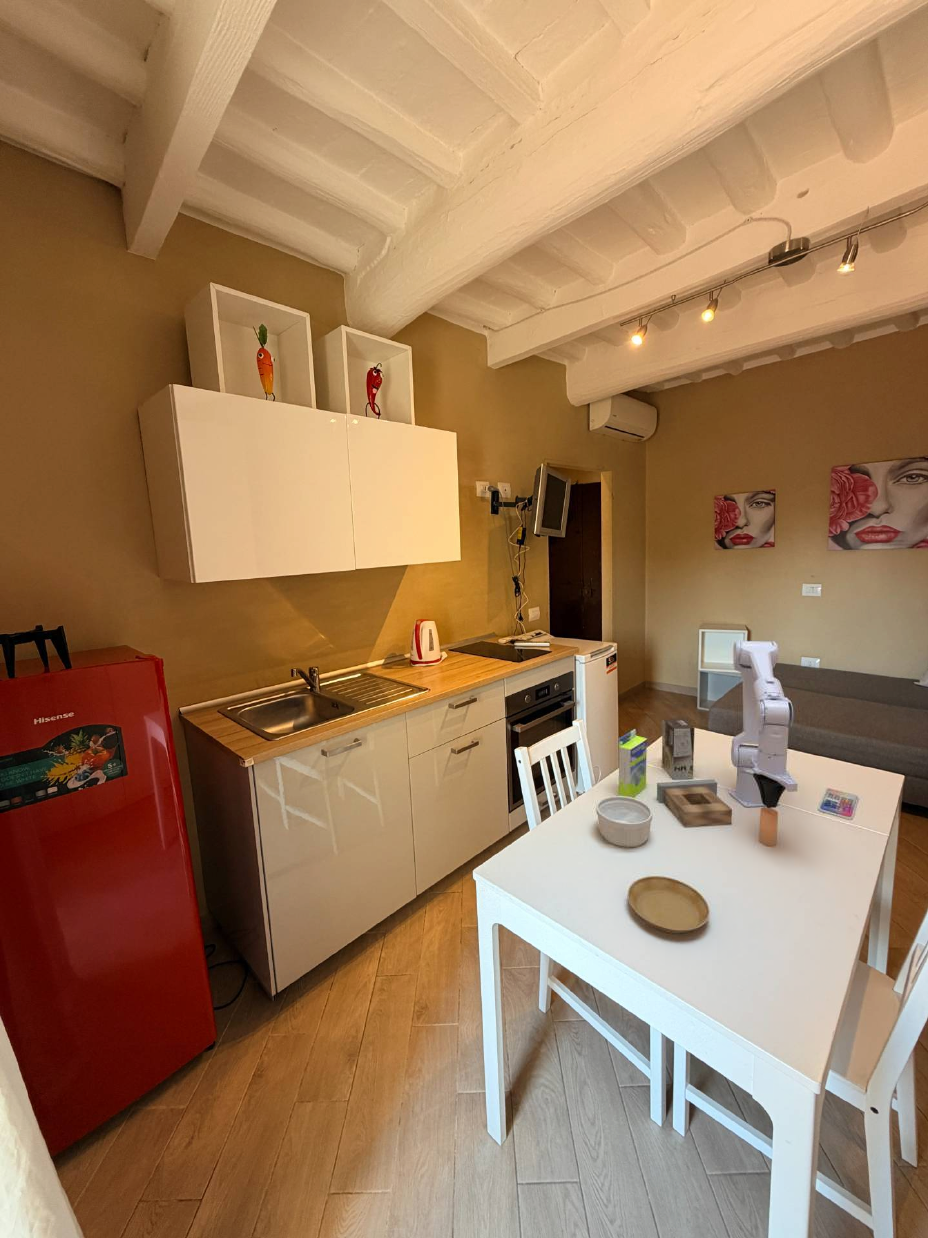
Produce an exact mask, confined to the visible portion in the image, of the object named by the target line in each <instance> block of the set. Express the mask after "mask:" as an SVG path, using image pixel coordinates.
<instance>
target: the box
mask: <svg viewBox="0 0 928 1238" xmlns="http://www.w3.org/2000/svg"><path fill="white" fill-rule="evenodd" d="M636 730H637V729H636V728H634V729H633V730H631V731H630V732H628V733H626V734H624V735H623V736H621V737H620V738H618V796H626V797H632V798H635V797H636V796H638V795H639V794H641V792H642V791H644V790H645V789H646V787H647V751H648V748H647V747H648V738H647V737H642V736H638V735H637V731H636Z"/></svg>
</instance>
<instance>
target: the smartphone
mask: <svg viewBox="0 0 928 1238" xmlns="http://www.w3.org/2000/svg"><path fill="white" fill-rule="evenodd" d="M859 800H860V797H859V796H858V795H856V794H852V793H850V792H849V793H848V792H844V791H840V790H837V789H834V788H826V790H825V791H824V794H823V796H822V799H821V801H820V802H819V806H818V809H817V810H818V812H820V813H822V814H826V815H830V816H833V817H837V818H840V819H845V820H847V821H852V820H854V818H855V814H856V810H857V807H858V804H859V803H858V802H859Z"/></svg>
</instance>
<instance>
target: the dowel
mask: <svg viewBox="0 0 928 1238" xmlns="http://www.w3.org/2000/svg"><path fill="white" fill-rule="evenodd" d="M759 814H760V815H759V832H758V842H759V843H760V844H761V845H763V846H765V847H771V848H772V847H776V846H777V840H778V839H777V837H778V836H777V835H778V818H779V817H778V816H779V812H778V811H777V810H776V809H774V808H767V807H766V806H762V807H761V808H760V813H759Z"/></svg>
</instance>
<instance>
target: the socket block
mask: <svg viewBox="0 0 928 1238" xmlns="http://www.w3.org/2000/svg"><path fill="white" fill-rule="evenodd" d="M663 804H664V805H665V806H666V807H667V809H668V810H669V811H670V812H671V813H672V814H673V815H674V816H675V818H676V819H677V820H678V821H679V823H680V824H682V826H683V827H684V828H694V827H695V828H696V827H710V826H713V827H714V826H727V825H732V820H733V819H732V818H733V817H732V816H733V810H732V808H731V807H730V806H729V805H728V804H726V803H725V802H724V801H723V800H722V799H721V798H720V797H719V796H718V795H717V796H716V795H715V794H714V793H713V792H712V791H711V790H710V789H709V788H708V787H707V786H706V787H691V788H675V789H664V803H663Z"/></svg>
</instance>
